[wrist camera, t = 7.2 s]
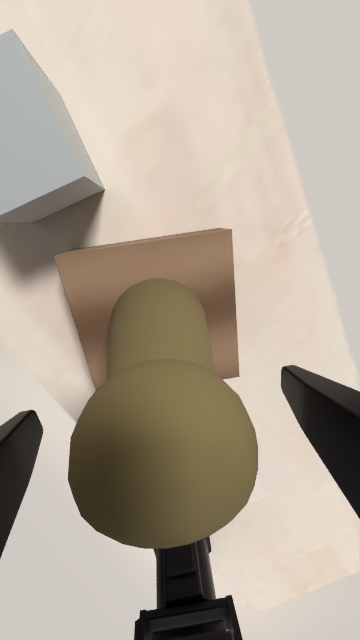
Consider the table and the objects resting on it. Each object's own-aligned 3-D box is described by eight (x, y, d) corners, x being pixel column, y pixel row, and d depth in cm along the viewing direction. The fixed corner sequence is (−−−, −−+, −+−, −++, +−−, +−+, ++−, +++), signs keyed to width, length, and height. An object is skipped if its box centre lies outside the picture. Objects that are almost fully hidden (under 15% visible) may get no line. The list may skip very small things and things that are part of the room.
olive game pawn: (129, 376, 17) (93, 608, 7) (94, 294, 15) (-39, 459, 5) (215, 351, 17) (307, 548, 7) (193, 265, 15) (283, 366, 4)
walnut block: (227, 355, 21) (239, 376, 18) (107, 375, 20) (99, 400, 17) (218, 228, 17) (231, 229, 14) (70, 249, 16) (53, 255, 14)
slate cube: (105, 189, 16) (84, 175, 11) (33, 222, 16) (-16, 222, 11) (60, 94, 14) (12, 28, 9) (-20, 133, 14) (-107, 89, 9)
